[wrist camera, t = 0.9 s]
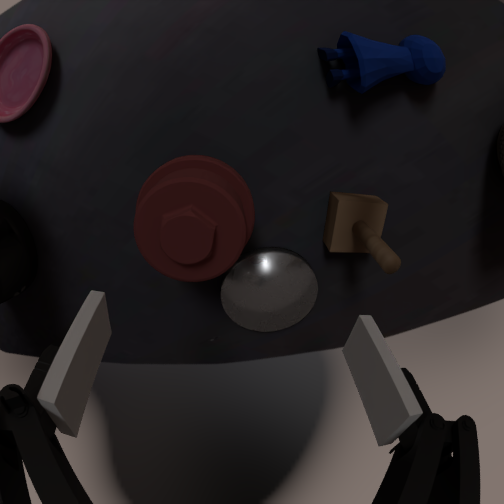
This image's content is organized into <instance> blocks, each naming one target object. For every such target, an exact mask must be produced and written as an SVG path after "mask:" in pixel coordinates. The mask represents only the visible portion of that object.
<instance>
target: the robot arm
mask: <svg viewBox="0 0 504 504" xmlns="http://www.w3.org/2000/svg"><path fill="white" fill-rule="evenodd" d="M36 272H37V253H36V248H35V245H34V241H33V239H32V236H31V234H30V231H29V229H28V227H27V226H26V224H25V222H24V221H23V219H22V218H21V216H20V215H19V214H18V213H17V211H16V210H15V209H14V208H13V207H12V206H10V205H9V204H8V203H6V202H4V201H2V200H0V304H1V303H3V302H5V301H7V300H9V299H10V298H12V297H13V296H17V295H19V294H21V293H22V292H23V291H25V290H26V288H27V287H28V286H29V285H30V284H31V283H32V281H33V280H34V278H35V275H36ZM110 336H111V327H110V322H109V316H108V310H107V304H106V298H105V292H99V291H92V290H91V291H90V293H89V295H88V297H87V298H86V300H85V302H84V303H83V305H82V307H81V309H80V311H79V312H78V314H77V316H76V318H75V320H74V321H73V323H72V325H71V327H70V329H69V331H68V333H67V334H66V336H65V338H64V340H63V342H62V344H61V346H60V347H58V346H54V345H51V344H50V345H49V346H48V347H47V348H46V349H45V350H44V351H43V352H42V354H41V356H40V357H39V360H38V362H37V363H36V366H35V369H34V370H33V371H32V373H31V375H30V378H29V380H28V382H27V384H26V386H25V388H24V390H23V388H21V387H20V386H19V385H16V384H9V385H7V386H5V387H3V389H2V390H1V391H0V504H31V500H30V496H29V492H28V488H27V483H26V478H25V473H24V468H23V462H24V465H25V467H26V470H27V472H28V474H29V477H30V479H31V481H32V483H33V485H34V488H35V490H36V492H37V494H38V496H39V498H40V500H41V502H42V504H93V503H92V501H91V500H90V498H89V497H88V495H87V493H86V492H85V490H84V489H83V487H82V485H81V483H80V482H79V480H78V478H77V476H76V475H75V473H74V471H73V469H72V467H71V465H70V464H69V462H68V460H67V458H66V456H65V454H64V452H63V450H62V448H61V445H60V443H59V441H58V439H57V437H56V435H55V434H54V433H55V430H56V427H57V428H58V429H59V431H60V432H61V433H63V434H67V435H70V436H73V437H77V434H78V431H79V427H80V424H81V420H82V417H83V413H84V410H85V407H86V404H87V400H88V397H89V394H90V391H91V388H92V385H93V382H94V379H95V376H96V373H97V371H98V368H99V365H100V362H101V359H102V357H103V354H104V351H105V349H106V346H107V343H108V341H109V338H110ZM342 351H343V354H344V356H345V359H346V361H347V364H348V366H349V369H350V371H351V374H352V376H353V379H354V381H355V384H356V387H357V389H358V392H359V394H360V397H361V400H362V402H363V405H364V407H365V410H366V413H367V415H368V418H369V421H370V424H371V426H372V429H373V432H374V435H375V437H376V440H377V443H378V446H383V445H387V444H391V443H393V442H394V440H396V439H397V438H399V441H400V442H399V443H398V444H397V445H396V446H395V447H394V448H393V449H391V451H390V452H389V453H390V454H391V453H392V452H393V451H394V450H395V452H394V454H393V457H392V460H391V462H390V465H389V467H388V470H387V472H386V474H385V477H384V479H383V481H382V483H381V485H380V488H379V490H378V492H377V494H376V496H375V498H374V500H373V502H372V504H480V463H479V449H478V439H477V430H476V425H475V422H474V420H473V419H472V418H471V417H470V416H467V415H463V416H461V417H460V418H458V419H457V420H456V421H445V420H444V419H443V417H442V416H440V415H439V414H436V413H432V412H431V410H430V408H429V406H428V404H427V402H426V400H425V398H424V396H423V394H422V392H421V391H420V390H419V387H418V385H417V384H416V381H415V379H414V377H413V375H412V374H411V373H410V372H409V371H408V370H407V369H406V368H400V366H399V365H398V363H397V361H396V359H395V357H394V355H393V354H392V352H391V350H390V348H389V346H388V344H387V343H386V341H385V339H384V337H383V336H382V334H381V332H380V330H379V329H378V327H377V325H376V323H375V322H374V320H373V318H372V316H371V315H359V317H358V319H357V321H356V323H355V326H354V328H353V330H352V332H351V334H350V336H349V338H348V340H347V342H346V344H345V346H344V348H343V350H342ZM452 452H453V457H452V456H451V453H452ZM22 460H23V462H22Z"/></svg>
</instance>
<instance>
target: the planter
mask: <svg viewBox="0 0 504 504" xmlns="http://www.w3.org/2000/svg"><path fill="white" fill-rule="evenodd" d="M497 156H498V161H499V164H500V166H501V170H502V175H503V178H504V125H503V126H502V127H501V129H500V132H499V135H498V139H497Z"/></svg>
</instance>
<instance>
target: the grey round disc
mask: <svg viewBox="0 0 504 504" xmlns="http://www.w3.org/2000/svg"><path fill="white" fill-rule="evenodd" d="M317 293H318V285H317V280H316V277H315V275H314V272H313V270H312V268H311V266H310V265H309V263H308V262H307V261H306V260H305V259H304V258H303V257H302V256H300V255H299V254H297V253H295V252H293V251H291V250H288V249H285V248H280V247H263V248H258V249H254V250H252V251H249V252H247V253H245V254H243V255H241V256H240V257H239V258H238V260H237V261H236V262H235V263H234V265H233V266H232V267H231V268H229V269H228V270H227V271H226V272H225V274H224V277H223V280H222V285H221V301H222V305H223V308H224V310H225V312H226V313H227V315H228V316H229V317H230V318H231V319H232V320H233V321H234V322H235V323H237V324H238V325H240V326H242V327H244V328H247V329H250V330H254V331H261V332H270V331H277V330H281V329H285V328H287V327H290V326H292V325H294V324H296V323H297V322H299V321H300V320H301V319H303V318H304V317H305V316H306V315H307V314H308V313H309V311H310V310H311V309H312V307H313V305H314V303H315V301H316V298H317Z"/></svg>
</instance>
